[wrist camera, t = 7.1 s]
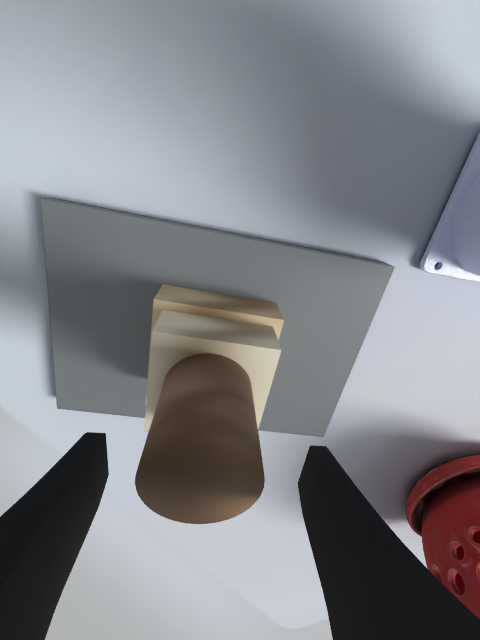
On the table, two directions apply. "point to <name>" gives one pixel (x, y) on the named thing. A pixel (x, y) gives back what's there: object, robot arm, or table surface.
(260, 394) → the birch top block
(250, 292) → the grey base plate
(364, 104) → the table surface
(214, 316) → the oak bottom block
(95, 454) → the robot arm
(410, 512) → the plant pot
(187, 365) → the walnut cylinder
